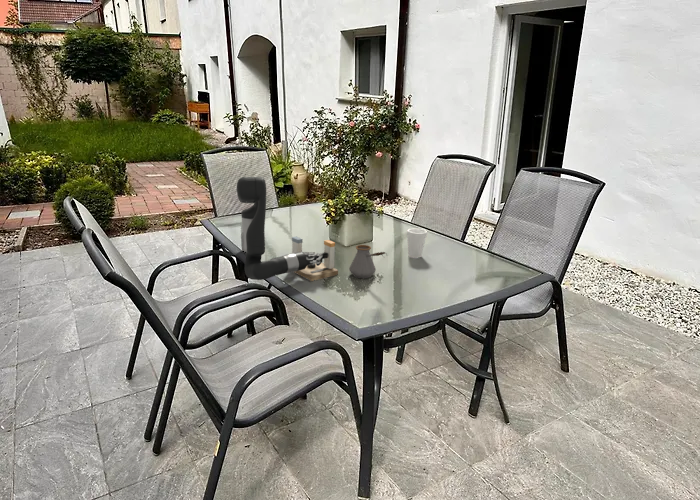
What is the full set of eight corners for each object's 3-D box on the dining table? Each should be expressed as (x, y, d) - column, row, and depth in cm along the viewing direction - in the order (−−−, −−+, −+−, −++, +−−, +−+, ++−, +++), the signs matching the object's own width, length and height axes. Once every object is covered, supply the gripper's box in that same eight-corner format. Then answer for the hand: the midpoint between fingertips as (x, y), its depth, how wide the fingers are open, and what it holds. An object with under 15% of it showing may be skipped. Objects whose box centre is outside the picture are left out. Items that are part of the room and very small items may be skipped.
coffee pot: (344, 273, 204) (345, 240, 199) (365, 268, 210) (367, 237, 205) (371, 290, 187) (373, 254, 182) (394, 285, 193) (396, 250, 188)
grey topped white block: (297, 265, 204) (297, 239, 200) (291, 262, 207) (291, 237, 203) (302, 264, 205) (302, 239, 201) (296, 261, 209) (296, 236, 205)
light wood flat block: (311, 281, 193) (311, 274, 192) (285, 267, 208) (285, 260, 207) (337, 274, 202) (338, 267, 201) (311, 261, 216) (311, 255, 215)
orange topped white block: (330, 269, 200) (330, 243, 197) (323, 266, 204) (324, 240, 200) (334, 268, 202) (335, 242, 198) (327, 265, 205) (328, 239, 202)
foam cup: (426, 255, 231) (429, 230, 227) (421, 260, 223) (423, 234, 219) (408, 252, 235) (410, 227, 231) (402, 257, 227) (404, 231, 223)
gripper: (302, 258, 183) (336, 250, 194) (284, 249, 193) (317, 242, 204) (302, 276, 186) (336, 267, 196) (284, 266, 195) (317, 258, 206)
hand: (326, 254), depth 200 cm, fingers closed
